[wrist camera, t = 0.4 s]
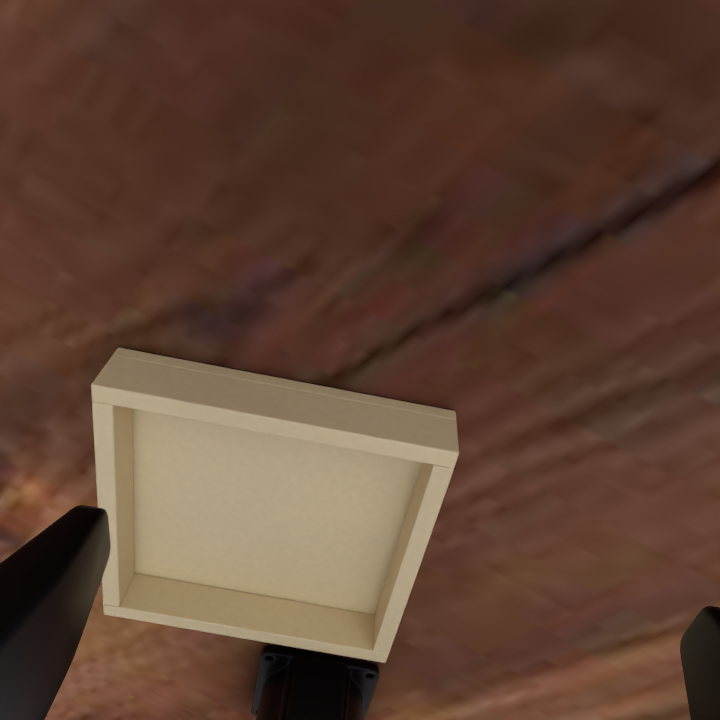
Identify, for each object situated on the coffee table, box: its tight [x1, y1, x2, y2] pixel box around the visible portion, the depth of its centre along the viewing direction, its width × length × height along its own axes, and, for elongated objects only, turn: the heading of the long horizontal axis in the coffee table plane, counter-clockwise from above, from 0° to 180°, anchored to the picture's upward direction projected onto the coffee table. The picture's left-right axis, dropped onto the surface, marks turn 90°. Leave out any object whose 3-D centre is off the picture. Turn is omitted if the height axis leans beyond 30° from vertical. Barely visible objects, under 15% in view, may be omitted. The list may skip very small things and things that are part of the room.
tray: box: [91, 348, 459, 663], centre depth 29 cm, size 14×14×3 cm
